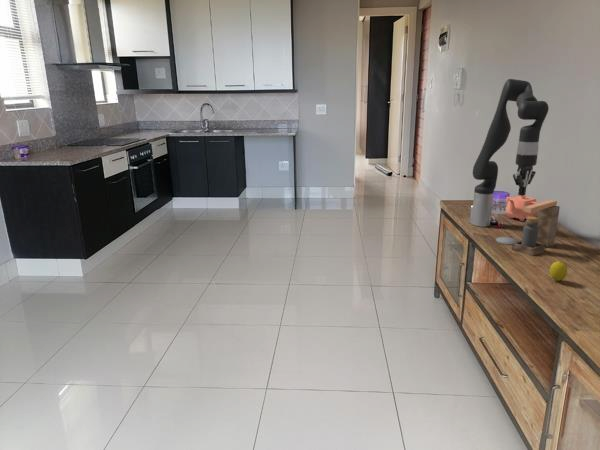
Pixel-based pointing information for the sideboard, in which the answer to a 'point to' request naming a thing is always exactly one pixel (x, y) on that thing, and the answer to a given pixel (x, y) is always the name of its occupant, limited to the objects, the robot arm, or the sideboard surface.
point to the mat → (506, 240)
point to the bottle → (530, 232)
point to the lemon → (558, 270)
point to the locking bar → (540, 206)
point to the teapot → (519, 207)
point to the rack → (542, 232)
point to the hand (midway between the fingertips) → (521, 195)
